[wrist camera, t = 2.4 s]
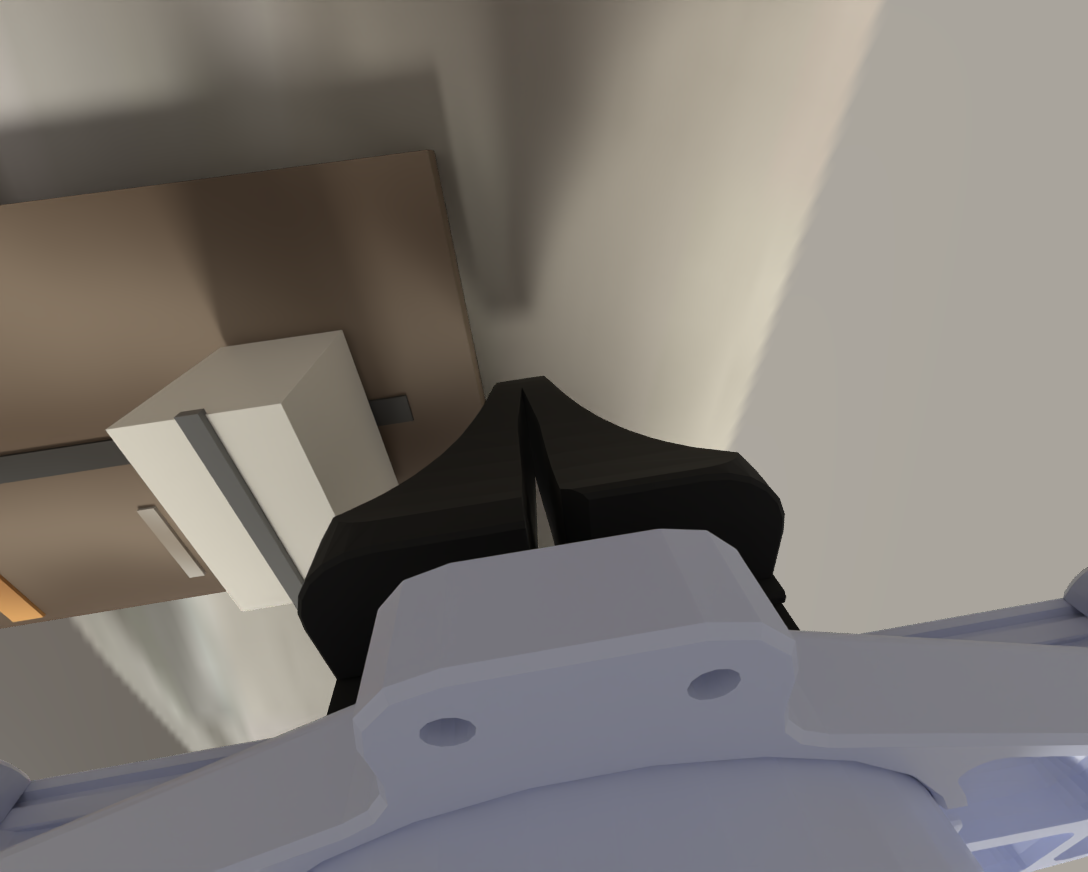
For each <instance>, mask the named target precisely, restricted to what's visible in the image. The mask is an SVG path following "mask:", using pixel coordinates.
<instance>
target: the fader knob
mask: <svg viewBox="0 0 1088 872" xmlns="http://www.w3.org/2000/svg"><path fill="white" fill-rule="evenodd" d="M106 431H107V433H108V434H109V435H110V437H111V438H112V439H113V441H114V442H115V443H116V445H117V446H118V447H119V449H120V450H121V451H122V453H123V454H124V455H125V457H126V458H127V459H128V461H129V462H130V463H131V465H132V466H133V467H134V469H135V470H136V471H137V473H138V474H139V475H140V477H141V478H142V479H143V481H144V482H145V483H146V485H147V486H148V487H149V489H150V490H151V491H152V493H153V494H154V495H155V497H156V498H157V499H158V501H159V502H160V503H161V505H162V506H163V507H164V509H165V510H166V511H167V513H168V514H169V515H170V517H171V518H172V519H173V521H174V522H175V523H176V525H177V526H178V527H179V529H180V530H181V531H182V533H183V534H184V535H185V537H186V538H187V539H188V541H189V542H190V543H191V545H192V546H193V547H194V549H195V550H196V551H197V553H198V554H199V555H200V557H201V558H202V559H203V561H204V562H205V563H206V565H207V566H208V567H209V568H210V570H211V571H212V572H213V574H214V575H215V576H216V578H217V579H218V580H219V582H220V583H221V584H222V586H223V587H224V588H225V590H226V591H227V592H228V594H229V595H230V596H231V598H232V599H233V600H234V602H235V603H236V604H237V606H238V607H239V608H240V610H241V611H242V612H243V611H249V610H255V609H261V608H267V607H273V606H279V605H285V604H291V603H293V604H294V605H295V607H296V608H297V610H298V595H299V592H300V590H301V587H302V585H303V583H304V580H305V578H306V575H307V573H308V571H309V568H310V566H311V563H312V561H313V559H314V556H315V554H316V552H317V549H318V547H319V544H320V542H321V540H322V538H323V536H324V534H325V532H326V530H327V528H328V526H329V524H330V523H331V521H332V519H333V517H335V516H337V515H340V514H342V513H344V512H346V511H349V510H351V509H353V508H355V507H357V506H359V505H361V504H363V503H366V502H368V501H370V500H372V499H374V498H376V497H378V496H380V495H382V494H384V493H385V492H387V491H389V490H391V489H392V488H394V487H396V486H398V485H399V484H398V482H397V479H396V476H395V474H394V471H393V468H392V465H391V463H390V460H389V457H388V454H387V452H386V449H385V446H384V443H383V441H382V438H381V435H380V432H379V430H378V427H377V424H376V421H375V419H374V416H373V413H372V410H371V408H370V405H369V402H368V399H367V397H366V394H365V391H364V388H363V386H362V383H361V380H360V377H359V375H358V372H357V369H356V367H355V364H354V361H353V358H352V356H351V353H350V350H349V347H348V345H347V342H346V339H345V336H344V334H343V331H342V330H338V331H331V332H324V333H317V334H310V335H303V336H296V337H289V338H282V339H275V340H268V341H261V342H254V343H247V344H241V345H234V346H227V347H221V348H219V349H218V350H216V351H215V352H214V353H212V354H211V355H209V356H208V357H207V358H205V359H204V360H202V361H201V362H200V363H198V364H197V365H195V366H194V367H193V368H191V369H190V370H188V371H187V372H186V373H184V374H183V375H181V376H180V377H178V378H177V379H176V380H174V381H173V382H171V383H170V384H169V385H167V386H166V387H164V388H163V389H162V390H160V391H159V392H157V393H156V394H155V395H153V396H152V397H150V398H149V399H148V400H146V401H145V402H143V403H142V404H141V405H139V406H138V407H136V408H135V409H134V410H132V411H131V412H129V413H128V414H127V415H125V416H124V417H122V418H121V419H120V420H118V421H117V422H115V423H114V424H113V425H111V426H110V427H108V428H107V429H106Z"/></svg>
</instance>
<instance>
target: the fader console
mask: <svg viewBox="0 0 1088 872" xmlns="http://www.w3.org/2000/svg"><path fill="white" fill-rule="evenodd" d="M338 330H342V331H343V334H344V336H345V339H346V342H347V345H348V347H349V350H350V353H351V356H352V358H353V361H354V364H355V367H356V369H357V372H358V375H359V377H360V380H361V383H362V386H363V388H364V391H365V394H366V397H367V399H368V402H369V405H370V408H371V410H372V413H373V416H374V419H375V421H376V424H377V427H378V430H379V432H380V435H381V438H382V441H383V443H384V446H385V449H386V452H387V454H388V457H389V460H390V463H391V465H392V468H393V471H394V474H395V476H396V479H397V482H398V484H401V483H403V482H404V481H406V480H407V479H409V478H410V477H412V476H414V475H415V474H417V473H418V472H419V471H421V470H422V469H423V468H424V467H426V466H427V465H428V464H430V463H431V462H432V461H434V460H435V459H436V458H438V457H439V456H440V455H441V454H442V453H444V452H445V451H446V450H447V449H448V448H449V447H450V446H451V445H452V444H453V443H454V442H455V441H456V440H457V439H458V438H459V437H460V436H461V435H462V434H463V432H464V431H465V430H466V429H467V427H468V426H469V425H470V424H471V422H472V421H473V420H474V418H475V417H476V415H477V414H478V412H479V411H480V409H481V408H482V406H483V405H484V403H485V397H484V392H483V387H482V382H481V378H480V373H479V368H478V363H477V358H476V353H475V348H474V343H473V339H472V334H471V329H470V324H469V319H468V314H467V309H466V304H465V300H464V295H463V290H462V285H461V280H460V275H459V270H458V265H457V261H456V256H455V251H454V246H453V241H452V236H451V231H450V226H449V221H448V217H447V212H446V207H445V202H444V197H443V192H442V187H441V182H440V178H439V173H438V168H437V163H436V158H435V153H434V151H432V150H421V151H414V152H406V153H398V154H390V155H383V156H375V157H367V158H360V159H352V160H344V161H337V162H329V163H321V164H313V165H306V166H298V167H290V168H283V169H275V170H267V171H260V172H252V173H244V174H236V175H229V176H221V177H213V178H206V179H198V180H190V181H183V182H175V183H167V184H159V185H152V186H144V187H136V188H129V189H121V190H113V191H106V192H98V193H90V194H82V195H75V196H67V197H59V198H52V199H44V200H36V201H28V202H21V203H13V204H5V205H0V629H1V628H7V627H13V626H19V625H25V624H31V623H37V622H43V621H50V620H56V619H62V618H68V617H74V616H80V615H86V614H92V613H98V612H104V611H110V610H116V609H123V608H129V607H135V606H141V605H147V604H153V603H159V602H165V601H171V600H177V599H183V598H189V597H195V596H202V595H208V594H214V593H220V592H226V590H225V588H224V587H223V586H222V584H221V583H220V582H219V580H218V579H217V578H216V576H215V575H214V574H213V572H212V571H211V570H210V568H209V567H208V566H207V565H206V563H205V562H204V561H203V559H202V558H201V557H200V555H199V554H198V553H197V551H196V550H195V549H194V547H193V546H192V545H191V543H190V542H189V541H188V539H187V538H186V537H185V535H184V534H183V533H182V531H181V530H180V529H179V527H178V526H177V525H176V523H175V522H174V521H173V519H172V518H171V517H170V515H169V514H168V513H167V511H166V510H165V509H164V507H163V506H162V505H161V503H160V502H159V501H158V499H157V498H156V497H155V495H154V494H153V493H152V491H151V490H150V489H149V487H148V486H147V485H146V483H145V482H144V481H143V479H142V478H141V477H140V475H139V474H138V473H137V471H136V470H135V469H134V467H133V466H132V465H131V463H130V462H129V461H128V459H127V458H126V457H125V455H124V454H123V453H122V451H121V450H120V449H119V447H118V446H117V445H116V443H115V442H114V441H113V439H112V438H111V437H110V435H109V434H108V433H107V431H106V429H107V428H108V427H110V426H111V425H113V424H114V423H115V422H117V421H118V420H120V419H121V418H122V417H124V416H125V415H127V414H128V413H129V412H131V411H132V410H134V409H135V408H136V407H138V406H139V405H141V404H142V403H143V402H145V401H146V400H148V399H149V398H150V397H152V396H153V395H155V394H156V393H157V392H159V391H160V390H162V389H163V388H164V387H166V386H167V385H169V384H170V383H171V382H173V381H174V380H176V379H177V378H178V377H180V376H181V375H183V374H184V373H186V372H187V371H188V370H190V369H191V368H193V367H194V366H195V365H197V364H198V363H200V362H201V361H202V360H204V359H205V358H207V357H208V356H209V355H211V354H212V353H214V352H215V351H216V350H218V349H219V348H221V347H227V346H234V345H241V344H247V343H254V342H261V341H268V340H275V339H282V338H289V337H296V336H303V335H310V334H317V333H324V332H331V331H338Z"/></svg>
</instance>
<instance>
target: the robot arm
mask: <svg viewBox="0 0 1088 872" xmlns="http://www.w3.org/2000/svg"><path fill="white" fill-rule="evenodd" d="M535 477H536V480H537V484H538V487H539V491H540V494H541V498H542V501H543V505H544V508H545V512H546V515H547V519H548V522H549V526H550V529H551V532H552V536H553V539H554V543H555V546H550V547H544V548H538V540H537V512H536V486H535ZM784 515H785V513H784V510H783V507H782V504H781V501H780V498H779V497H778V496H777V495H776V494H775V493H774V491H773V490H772V489H771V488H770V487H769V486H768V484H767V483H766V482H765V480H764V479H763V478H762V477H761V476H760V475H759V474H758V472H757V471H756V470H755V469H754V468H753V467H752V466H751V465H750V464H749V463H748V462H747V461H746V460H745V459H744V458H743V457H742V456H741V455H740V454H739V453H737V452H729V451H721V450H712V449H704V448H695V447H689V446H684V445H680V444H675V443H670V442H665V441H662V440H658V439H654V438H650V437H647V436H644V435H641V434H638V433H635V432H632V431H629V430H627V429H624V428H621V427H619V426H617V425H615V424H613V423H610V422H608V421H606V420H604V419H602V418H600V417H598V416H596V415H595V414H593V413H591V412H590V411H588V410H586V409H585V408H583V407H582V406H580V405H579V404H577V403H576V402H575V401H573V400H572V399H571V398H569V397H568V396H567V395H565V394H564V393H563V392H562V391H561V390H560V389H558V388H557V387H556V386H555V385H554V384H553V383H552V382H551V381H550V380H548V379H547V378H546V377H545V376H539V377H533V378H526V379H519V380H513V381H506V382H499V383H496V385H495V386H494V387H493V389H492V391H491V393H490V395H489V396H488V398H487V400H486V401H485V403H484V405H483V406H482V408H481V409H480V411H479V412H478V414H477V415H476V417H475V418H474V420H473V421H472V422H471V424H470V425H469V426H468V427H467V429H466V430H465V431H464V432H463V434H462V435H461V436H460V437H459V438H458V439H457V440H456V441H455V442H454V443H453V444H452V445H451V446H450V447H449V448H448V449H447V450H446V451H445V452H444V453H442V454H441V455H440V456H439V457H438V458H436V459H435V460H434V461H432V462H431V463H430V464H428V465H427V466H426V467H424V468H423V469H422V470H421V471H419V472H418V473H417V474H415V475H414V476H412V477H410V478H409V479H407V480H406V481H404V482H403V483H401V484H399V485H398V486H396V487H394V488H392V489H391V490H389V491H387V492H385V493H384V494H382V495H380V496H378V497H376V498H374V499H372V500H370V501H368V502H366V503H363V504H361V505H359V506H357V507H355V508H353V509H351V510H349V511H346V512H344V513H342V514H340V515H337V516H335V517H333V519H332V521H331V523H330V524H329V526H328V528H327V530H326V532H325V534H324V536H323V538H322V540H321V542H320V544H319V547H318V549H317V552H316V554H315V556H314V559H313V561H312V563H311V566H310V568H309V571H308V573H307V575H306V578H305V580H304V583H303V585H302V587H301V590H300V592H299V595H298V615H299V618H300V620H301V623H302V625H303V627H304V630H305V631H306V633H307V634H308V636H309V637H310V639H311V640H312V642H313V643H314V645H315V646H316V648H317V650H318V651H319V653H320V654H321V656H322V657H323V659H324V660H325V662H326V663H327V665H328V666H329V668H330V669H331V671H332V673H333V674H334V676H335V677H336V679H337V681H336V684H335V688H334V691H333V695H332V698H331V702H330V706H329V709H328V713H327V716H325V717H322V718H320V719H317V720H315V721H313V722H310V723H308V724H305V725H303V726H301V727H298V728H296V729H293V730H291V731H288V732H286V733H284V734H281V735H279V736H276V737H274V738H269V739H263V740H257V741H252V742H246V743H241V744H235V745H229V746H224V747H218V748H212V749H207V750H201V751H195V752H190V753H184V754H178V755H173V756H167V757H161V758H156V759H151V760H145V761H139V762H133V763H128V764H122V765H116V766H111V767H105V768H100V769H94V770H88V771H83V772H77V773H71V774H66V775H60V776H55V777H49V778H43V779H37V780H32V781H30V779H29V777H28V775H26V774H25V773H24V772H23V771H21V770H20V769H19V768H17V767H16V766H14V765H12V764H10V763H8V762H5V761H3V760H0V872H1032V871H1036V870H1040V869H1043V868H1047V867H1050V866H1054V865H1058V864H1061V863H1065V862H1069V861H1072V860H1076V859H1080V858H1083V857H1087V856H1088V567H1087V568H1085V569H1083V570H1082V571H1081V572H1080V573H1079V574H1078V575H1077V576H1076V577H1075V578H1074V579H1073V580H1072V581H1071V583H1070V584H1069V586H1068V587H1067V589H1066V590H1065V592H1064V598H1060V599H1054V600H1048V601H1043V602H1037V603H1031V604H1026V605H1020V606H1015V607H1009V608H1003V609H997V610H992V611H987V612H981V613H975V614H970V615H964V616H958V617H953V618H947V619H941V620H936V621H930V622H924V623H918V624H913V625H907V626H902V627H896V628H891V629H884V630H879V631H873V632H868V633H862V634H849V633H833V632H815V631H800V630H799V628H798V627H797V625H796V624H795V622H794V621H793V619H792V618H791V616H790V615H789V613H788V612H787V610H786V609H785V607H784V606H783V604H782V603H784V602H785V599H786V595H785V591H784V589H783V588H782V587H781V585H780V584H779V582H778V581H777V579H776V578H775V576H774V575H773V571H774V567H775V563H776V559H777V554H778V550H779V547H780V542H781V538H782V534H783V530H784Z"/></svg>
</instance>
